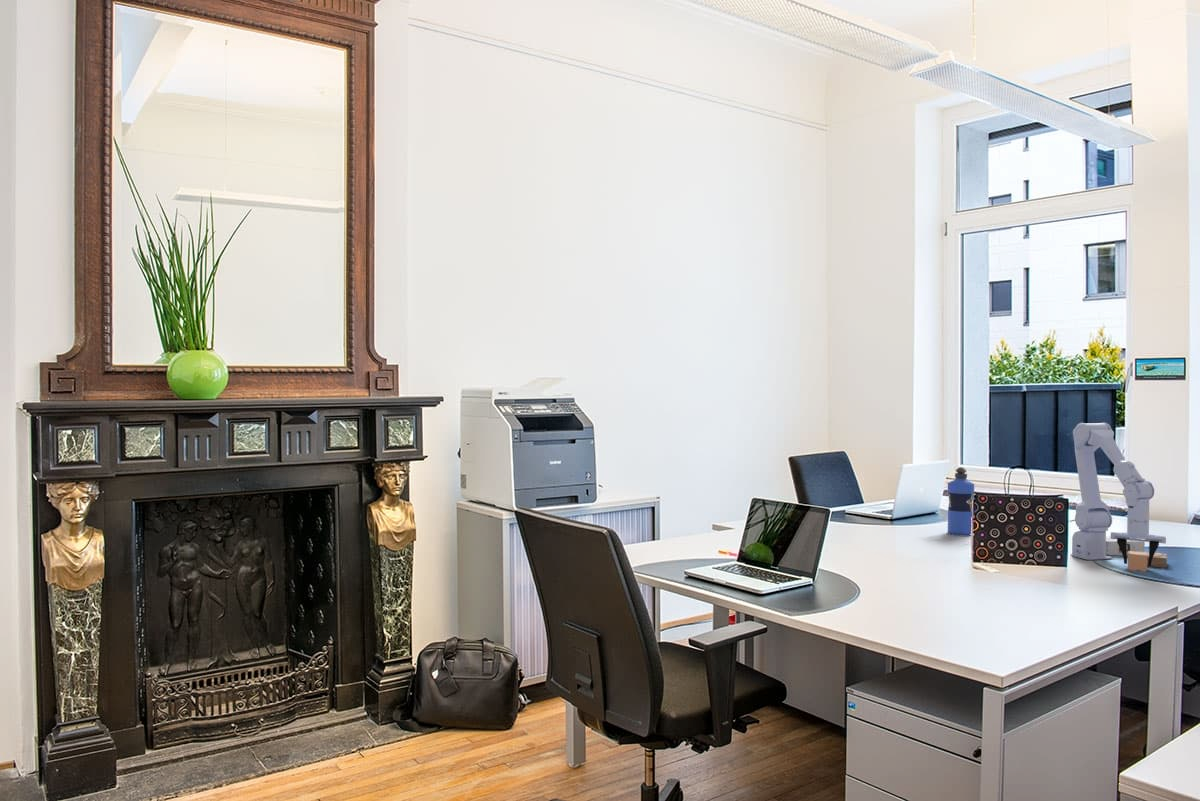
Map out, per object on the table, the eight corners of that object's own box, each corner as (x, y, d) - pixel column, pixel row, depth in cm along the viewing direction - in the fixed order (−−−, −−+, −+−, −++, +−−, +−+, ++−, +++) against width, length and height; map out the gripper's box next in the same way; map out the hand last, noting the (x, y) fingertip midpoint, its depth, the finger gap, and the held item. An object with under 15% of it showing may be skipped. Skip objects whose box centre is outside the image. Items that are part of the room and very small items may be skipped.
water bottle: (975, 532, 335) (976, 467, 334) (971, 536, 327) (972, 469, 327) (949, 530, 340) (950, 465, 339) (945, 534, 332) (945, 468, 332)
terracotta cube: (1146, 571, 268) (1147, 555, 268) (1127, 569, 271) (1127, 553, 271) (1147, 568, 272) (1147, 552, 272) (1128, 566, 275) (1128, 551, 275)
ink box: (1129, 550, 300) (1086, 550, 300) (1130, 536, 300) (1086, 536, 300) (1144, 556, 291) (1099, 555, 292) (1145, 541, 291) (1100, 541, 292)
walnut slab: (1166, 567, 273) (1166, 557, 273) (1136, 564, 277) (1136, 554, 277) (1166, 563, 280) (1166, 553, 280) (1136, 560, 284) (1137, 550, 284)
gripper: (1110, 520, 272) (1109, 564, 272) (1166, 524, 264) (1165, 569, 264) (1111, 517, 278) (1110, 560, 278) (1166, 521, 270) (1165, 565, 270)
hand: (1137, 564), depth 271 cm, fingers open, 6 cm apart
